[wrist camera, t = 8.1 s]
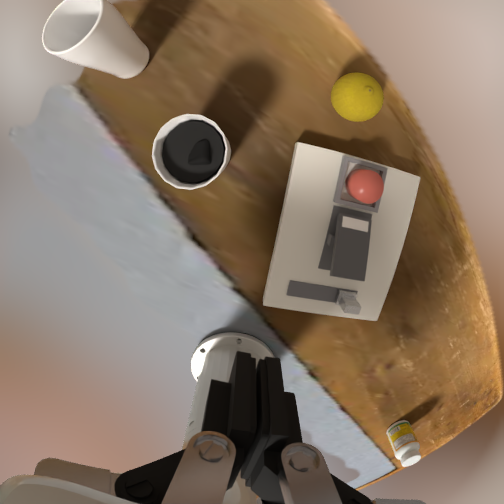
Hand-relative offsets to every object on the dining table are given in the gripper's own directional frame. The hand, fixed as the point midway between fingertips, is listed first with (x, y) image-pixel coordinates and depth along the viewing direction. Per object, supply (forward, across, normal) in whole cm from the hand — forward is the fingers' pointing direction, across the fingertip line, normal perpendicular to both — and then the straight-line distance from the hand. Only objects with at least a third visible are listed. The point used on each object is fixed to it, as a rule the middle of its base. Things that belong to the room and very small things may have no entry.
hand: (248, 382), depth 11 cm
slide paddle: (+25, -13, +5) cm, 28 cm away
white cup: (+27, +7, -8) cm, 29 cm away
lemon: (+26, -7, -18) cm, 33 cm away
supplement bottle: (+28, -39, +32) cm, 58 cm away
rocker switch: (+22, -11, -2) cm, 25 cm away
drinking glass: (+26, +20, -19) cm, 38 cm away
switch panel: (+27, -11, -2) cm, 29 cm away
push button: (+24, -11, -9) cm, 28 cm away
